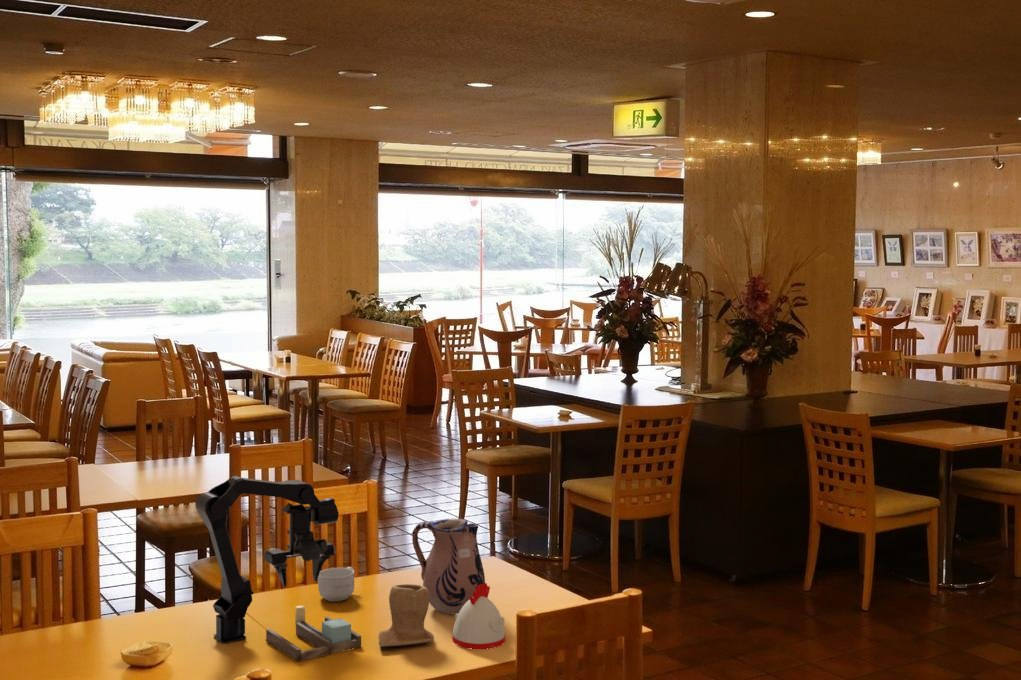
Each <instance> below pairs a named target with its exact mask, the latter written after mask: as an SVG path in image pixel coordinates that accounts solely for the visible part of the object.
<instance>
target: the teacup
mask: <svg viewBox="0 0 1021 680" xmlns="http://www.w3.org/2000/svg"><path fill="white" fill-rule="evenodd" d="M317 586H318V587H317V588H318V594H319V595H320V597H322V598H324V600H326V601H328V602H340V601H345V600H347V599H349V598H350V596H351V595H352V594H353V593H354V591H355V569H354V567H352V566H347V567H331V568H326V569H323V570H322V569H321V570H320V573H319V576H318V579H317Z"/></svg>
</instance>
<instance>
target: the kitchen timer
mask: <svg viewBox="0 0 1021 680" xmlns="http://www.w3.org/2000/svg"><path fill="white" fill-rule="evenodd" d="M490 589H491V586H490V585H488V583H486V582H485V583H484V584H483V585H482V584H480V586H478V585H476V591H473V597H470V600H468V601H467V602H466V603H465V604H464V606H463V607H462V609H461V610H460V612H459V614H457V613H456V614H454V625H453V630H452V643H453V642H454V643H455V644H457V645H459V646H461V647H460V648H462V647H465V648H464V649H466V648H472V649H471V650H473V649H485V650H491V649H490V648H492V649H495V648H494V647H496V648H498V646H499V647H501V646H503V645H504V644H505V642H506V631H505V618H504V616H501V613H500V610H499V609H498V608H497V605H496V604H495V603H494V602H493V601H491V600H490V599H489V598H488V597H489V593H490ZM503 643H504V644H503ZM455 644H454V645H455ZM502 644H503V645H502ZM457 645H456V646H457ZM500 645H501V646H500ZM459 646H458V647H459ZM487 648H488V649H487Z"/></svg>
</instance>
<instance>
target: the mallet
mask: <svg viewBox="0 0 1021 680" xmlns="http://www.w3.org/2000/svg"><path fill="white" fill-rule="evenodd" d="M294 609H295V611H294V612H295V613H294V614H295V615H294V616H295V617H294V619H295V621H294V623H295V625H296V623H299V622H300V623H301V624H303V625H304V626H306V627H308V628H309V629H311V630H313V631H314V632H316V633H317V634H319V635H321V636H322V637H324V638H326V639H327V640H329V641H330V642H332V644H337V643H341V642H345V641H350V640H351V630H352V624H351V623H350V622H348V621H347V620H345V619H343V618H341V617H340V618H336V619H333V620H330V621H325V620H324V621H322V622H321V630H319V629H318V628H315V627H314V626H312V625H311V624H310V623H308V622H307V621H306V606H305V605H297V606H295V608H294Z"/></svg>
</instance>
